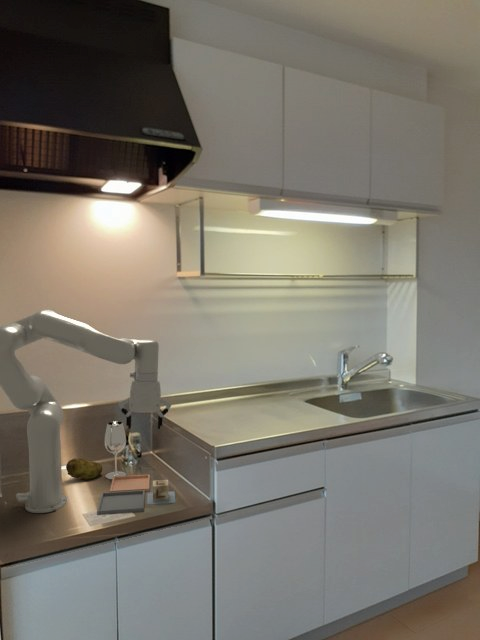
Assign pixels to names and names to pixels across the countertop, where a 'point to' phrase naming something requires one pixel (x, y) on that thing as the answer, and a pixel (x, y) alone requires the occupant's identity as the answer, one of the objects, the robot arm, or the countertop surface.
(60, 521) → the countertop surface
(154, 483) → the letter cube
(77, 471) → the potato
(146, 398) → the robot arm
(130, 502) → the charcoal tray
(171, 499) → the mat
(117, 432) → the wineglass
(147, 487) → the terracotta tray
